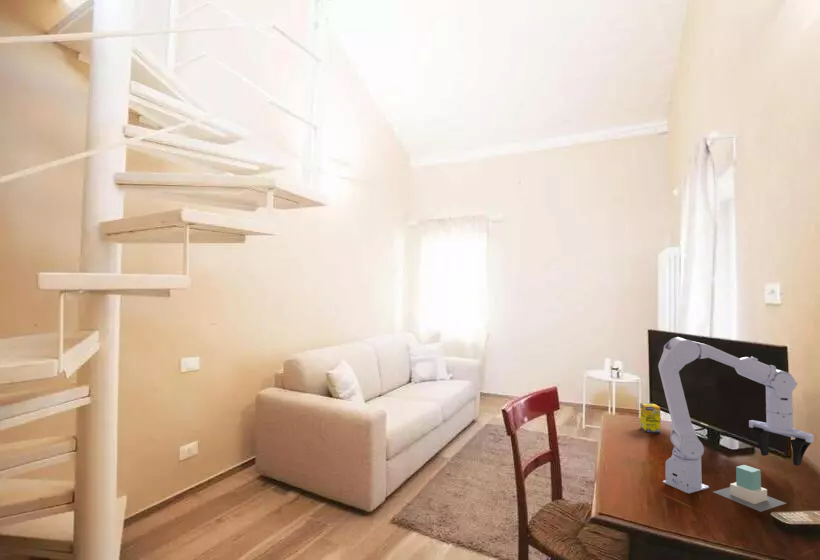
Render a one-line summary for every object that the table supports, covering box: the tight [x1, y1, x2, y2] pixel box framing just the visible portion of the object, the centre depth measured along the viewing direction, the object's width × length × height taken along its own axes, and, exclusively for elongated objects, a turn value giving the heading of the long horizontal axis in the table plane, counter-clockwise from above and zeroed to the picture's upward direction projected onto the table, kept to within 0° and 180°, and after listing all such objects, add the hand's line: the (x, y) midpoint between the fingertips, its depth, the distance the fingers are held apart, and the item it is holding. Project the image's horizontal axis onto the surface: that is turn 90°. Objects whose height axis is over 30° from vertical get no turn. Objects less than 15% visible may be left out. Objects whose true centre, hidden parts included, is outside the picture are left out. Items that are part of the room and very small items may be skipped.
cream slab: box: [729, 481, 768, 504], centre depth 117 cm, size 6×6×3 cm
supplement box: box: [639, 402, 661, 434], centre depth 176 cm, size 6×6×11 cm
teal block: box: [735, 464, 762, 491], centre depth 117 cm, size 4×4×5 cm
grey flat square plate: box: [713, 486, 787, 513], centre depth 117 cm, size 12×12×1 cm
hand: (780, 459), depth 119 cm, fingers open, 7 cm apart
